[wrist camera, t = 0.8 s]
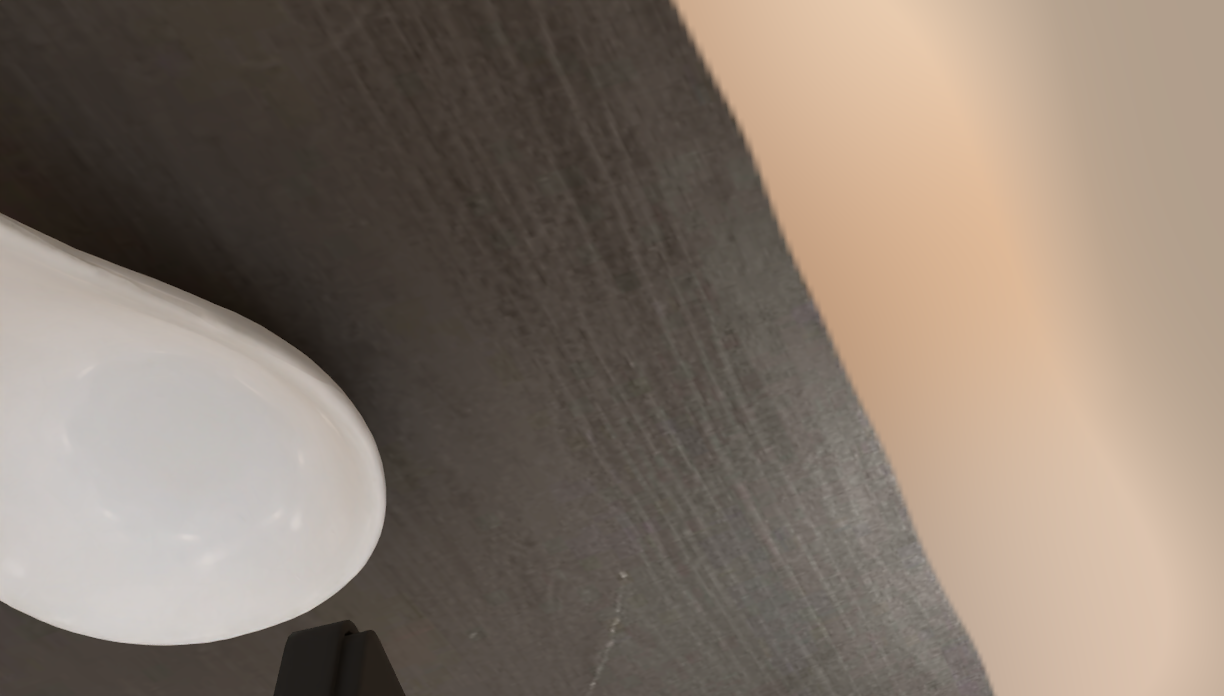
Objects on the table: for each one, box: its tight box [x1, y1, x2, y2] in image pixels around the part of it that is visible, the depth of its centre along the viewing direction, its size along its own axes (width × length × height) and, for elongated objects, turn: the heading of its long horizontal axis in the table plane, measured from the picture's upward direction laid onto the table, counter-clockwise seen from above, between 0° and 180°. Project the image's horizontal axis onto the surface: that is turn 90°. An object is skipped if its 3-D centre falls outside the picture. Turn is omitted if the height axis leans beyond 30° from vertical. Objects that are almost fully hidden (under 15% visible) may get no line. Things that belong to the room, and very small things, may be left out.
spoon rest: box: [0, 213, 386, 645], centre depth 23 cm, size 24×12×7 cm, turn 19°
